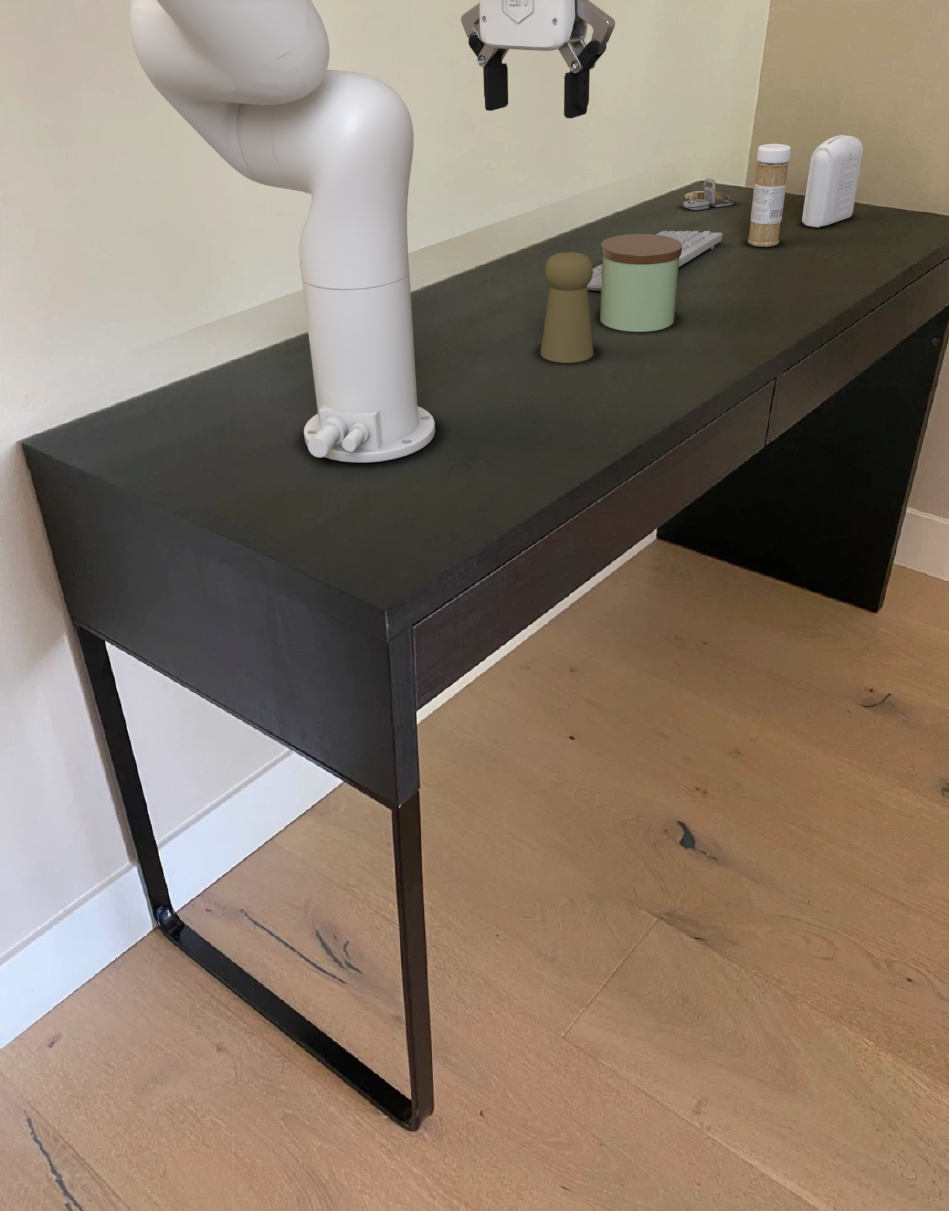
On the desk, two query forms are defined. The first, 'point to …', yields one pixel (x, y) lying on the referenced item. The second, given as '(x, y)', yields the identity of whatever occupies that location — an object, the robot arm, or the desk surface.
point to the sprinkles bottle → (769, 194)
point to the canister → (639, 282)
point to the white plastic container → (832, 181)
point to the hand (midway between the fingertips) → (535, 111)
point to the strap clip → (707, 198)
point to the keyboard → (691, 248)
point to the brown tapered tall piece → (567, 309)
